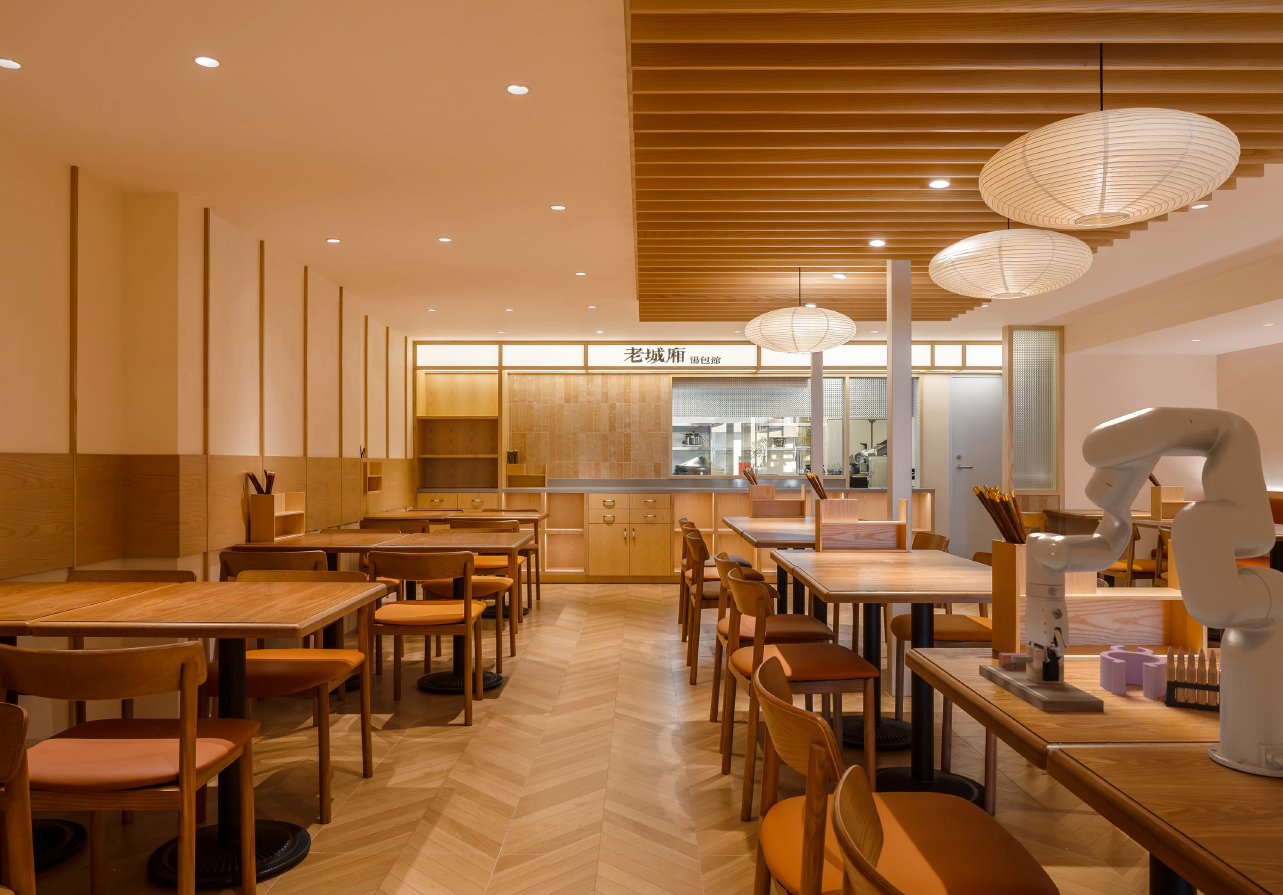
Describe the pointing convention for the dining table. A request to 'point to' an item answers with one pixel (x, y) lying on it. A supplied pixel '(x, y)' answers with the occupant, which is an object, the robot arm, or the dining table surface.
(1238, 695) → the robot arm
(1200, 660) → the ammunition clip
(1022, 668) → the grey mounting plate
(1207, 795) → the dining table surface
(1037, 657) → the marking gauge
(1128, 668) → the clip
